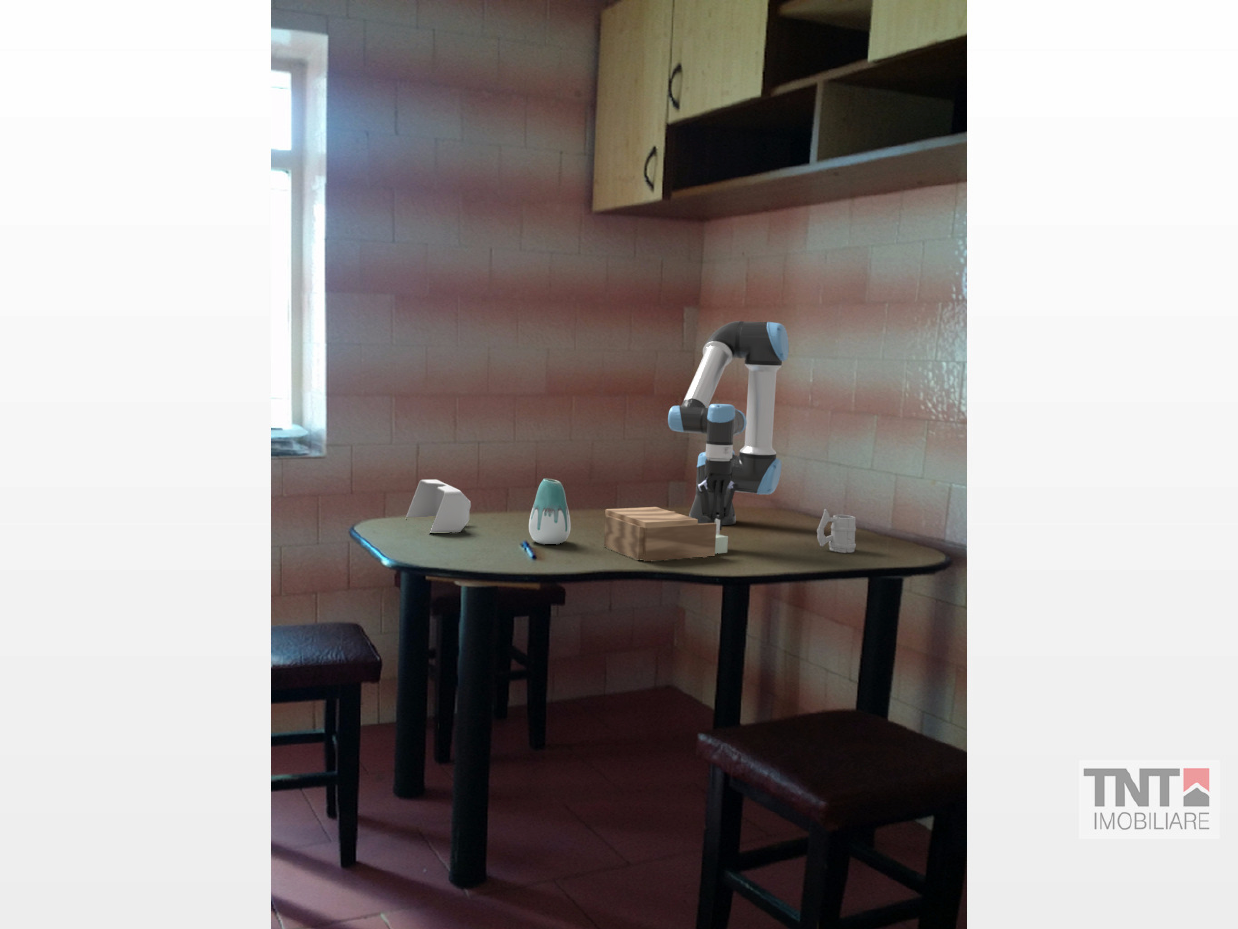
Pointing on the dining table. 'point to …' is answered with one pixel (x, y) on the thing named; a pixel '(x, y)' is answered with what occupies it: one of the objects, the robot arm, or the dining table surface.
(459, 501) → the white angular cover
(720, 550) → the pale green block
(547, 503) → the vase
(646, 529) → the wooden box
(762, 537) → the dining table surface
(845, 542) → the mug
